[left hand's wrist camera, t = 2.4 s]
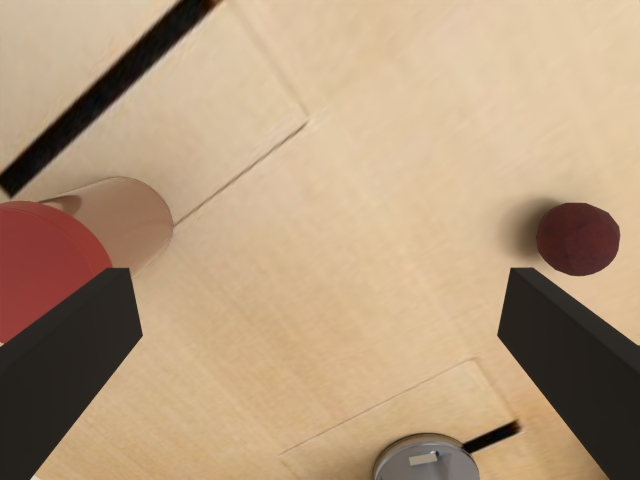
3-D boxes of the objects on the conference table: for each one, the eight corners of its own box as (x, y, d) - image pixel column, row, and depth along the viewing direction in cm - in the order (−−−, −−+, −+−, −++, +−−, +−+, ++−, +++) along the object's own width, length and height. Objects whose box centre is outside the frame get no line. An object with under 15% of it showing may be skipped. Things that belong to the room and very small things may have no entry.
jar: (116, 273, 43) (14, 357, 29) (64, 198, 40) (-81, 249, 25) (189, 242, 42) (120, 313, 27) (141, 162, 39) (34, 193, 24)
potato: (538, 269, 43) (578, 299, 36) (512, 217, 40) (549, 239, 34) (598, 237, 41) (651, 262, 35) (575, 181, 39) (627, 196, 32)
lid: (30, 351, 31) (8, 369, 29) (-68, 235, 27) (-102, 246, 25) (143, 304, 29) (129, 320, 27) (55, 176, 26) (31, 182, 23)
